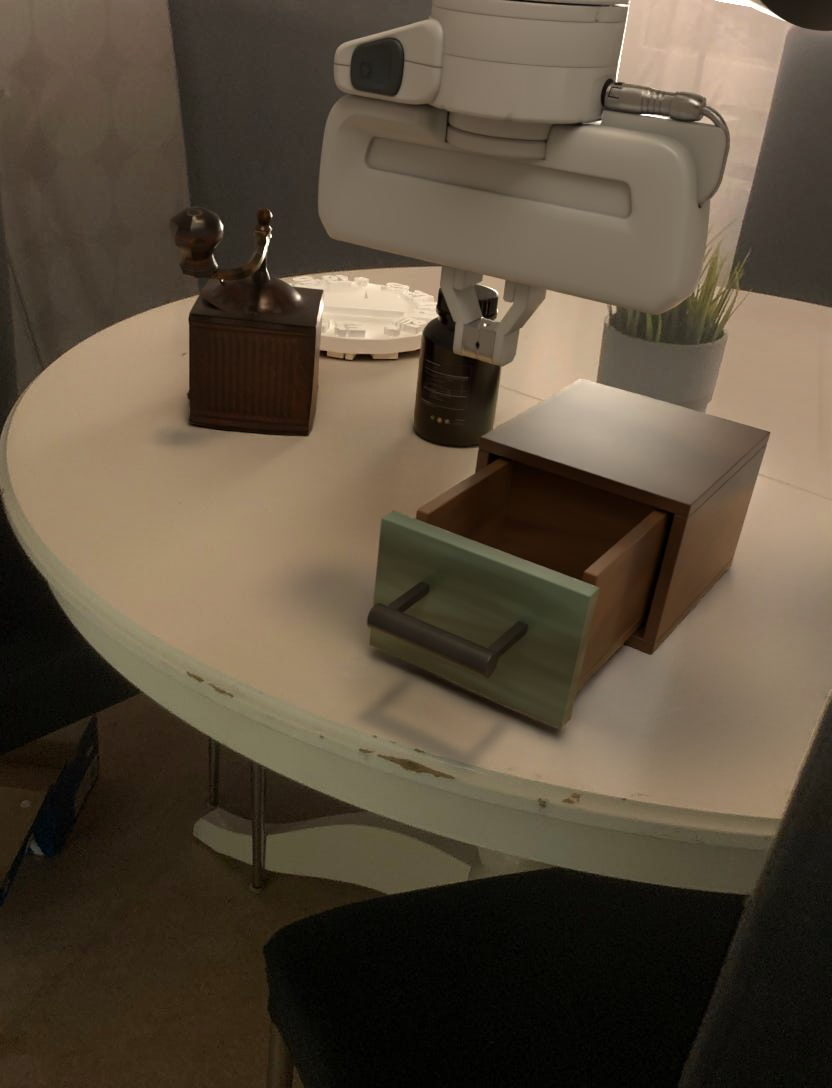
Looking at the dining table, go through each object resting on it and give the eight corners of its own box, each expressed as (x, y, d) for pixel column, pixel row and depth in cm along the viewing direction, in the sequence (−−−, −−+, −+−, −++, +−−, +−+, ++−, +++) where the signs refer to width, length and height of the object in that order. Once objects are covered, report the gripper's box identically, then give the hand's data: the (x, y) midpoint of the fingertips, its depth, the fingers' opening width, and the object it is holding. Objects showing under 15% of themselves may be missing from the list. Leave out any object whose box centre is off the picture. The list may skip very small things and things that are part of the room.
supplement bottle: (430, 410, 99) (446, 273, 92) (503, 428, 96) (524, 289, 90) (398, 436, 93) (413, 292, 87) (474, 455, 91) (495, 309, 85)
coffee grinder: (198, 381, 101) (197, 168, 91) (320, 391, 101) (333, 180, 91) (166, 451, 88) (162, 211, 78) (307, 462, 88) (320, 225, 78)
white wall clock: (296, 290, 126) (298, 264, 125) (464, 320, 122) (467, 293, 120) (220, 339, 110) (221, 310, 109) (410, 376, 106) (413, 345, 104)
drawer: (517, 776, 56) (545, 638, 51) (318, 682, 61) (327, 549, 57) (656, 627, 69) (688, 505, 64) (482, 560, 74) (500, 444, 70)
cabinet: (651, 655, 68) (691, 505, 62) (459, 579, 74) (479, 436, 68) (731, 566, 78) (770, 431, 73) (556, 506, 84) (581, 377, 79)
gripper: (762, 93, 49) (691, 391, 57) (377, 40, 58) (359, 303, 66) (716, 106, 45) (645, 427, 53) (306, 46, 54) (296, 328, 62)
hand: (483, 357), depth 59 cm, fingers closed
